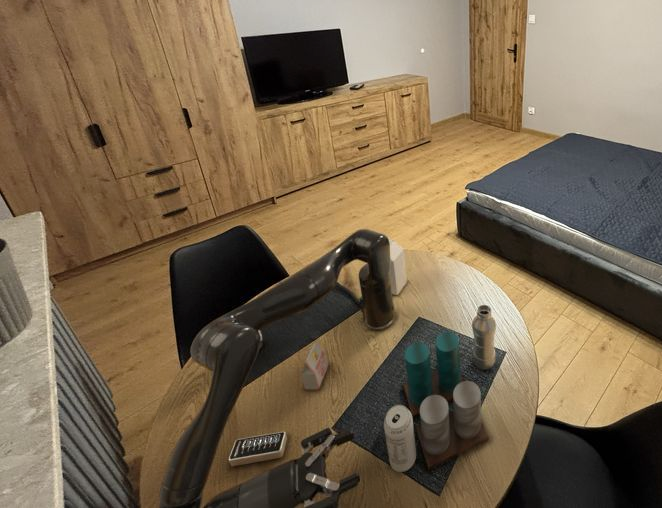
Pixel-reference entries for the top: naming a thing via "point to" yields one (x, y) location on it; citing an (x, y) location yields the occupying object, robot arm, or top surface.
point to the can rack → (437, 381)
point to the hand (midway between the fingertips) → (356, 454)
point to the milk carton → (397, 267)
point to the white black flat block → (258, 448)
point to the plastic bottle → (484, 338)
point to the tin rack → (451, 424)
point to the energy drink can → (400, 438)
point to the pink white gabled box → (314, 368)
